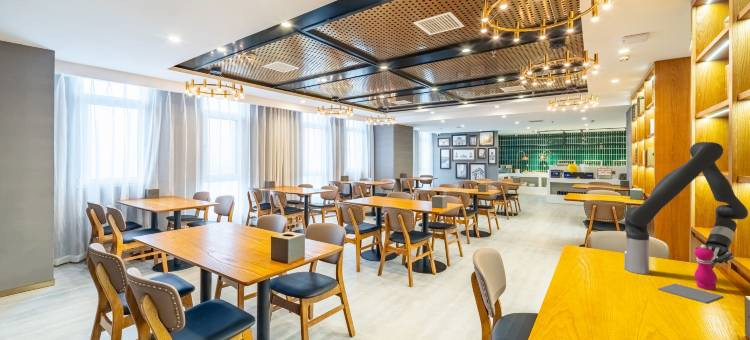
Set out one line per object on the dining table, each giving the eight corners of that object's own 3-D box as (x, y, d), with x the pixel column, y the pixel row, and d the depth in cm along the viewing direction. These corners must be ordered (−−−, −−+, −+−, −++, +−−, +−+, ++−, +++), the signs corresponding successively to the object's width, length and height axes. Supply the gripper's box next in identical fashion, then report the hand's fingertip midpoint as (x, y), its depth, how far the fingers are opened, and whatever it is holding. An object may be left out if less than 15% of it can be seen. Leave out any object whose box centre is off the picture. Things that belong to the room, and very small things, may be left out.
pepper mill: (722, 289, 143) (720, 247, 140) (703, 291, 144) (700, 249, 141) (708, 280, 150) (706, 240, 147) (690, 282, 151) (687, 242, 148)
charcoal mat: (657, 289, 145) (657, 288, 145) (675, 284, 151) (675, 283, 151) (706, 303, 131) (706, 302, 131) (723, 297, 137) (723, 295, 137)
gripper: (698, 230, 157) (685, 259, 152) (738, 235, 145) (725, 266, 140) (703, 240, 159) (691, 269, 154) (743, 246, 147) (731, 277, 142)
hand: (707, 267), depth 147 cm, fingers closed
